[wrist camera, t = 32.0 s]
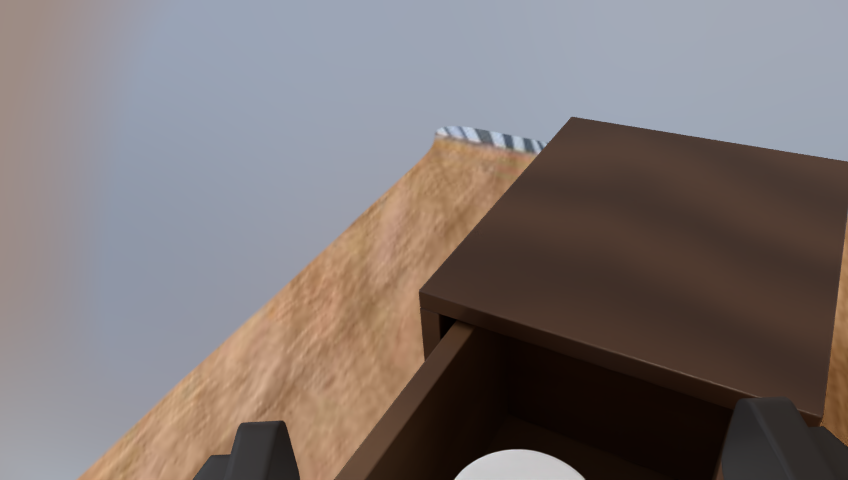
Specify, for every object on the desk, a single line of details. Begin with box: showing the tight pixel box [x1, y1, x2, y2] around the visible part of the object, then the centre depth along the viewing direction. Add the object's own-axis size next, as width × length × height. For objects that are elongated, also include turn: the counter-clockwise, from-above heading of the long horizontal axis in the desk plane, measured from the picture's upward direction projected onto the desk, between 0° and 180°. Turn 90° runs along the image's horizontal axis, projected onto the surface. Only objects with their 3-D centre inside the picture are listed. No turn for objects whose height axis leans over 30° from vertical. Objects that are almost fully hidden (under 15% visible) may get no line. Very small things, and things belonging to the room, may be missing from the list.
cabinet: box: [419, 117, 848, 427], centre depth 29 cm, size 16×13×11 cm
